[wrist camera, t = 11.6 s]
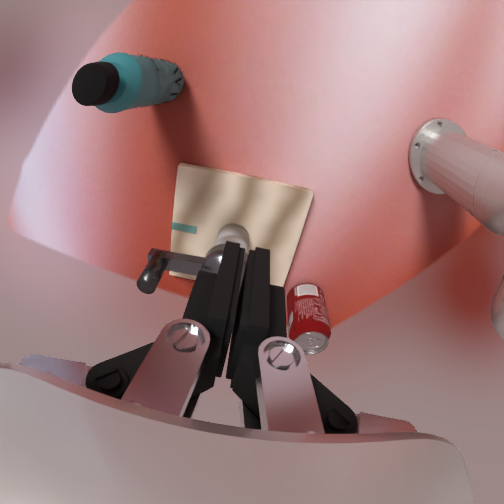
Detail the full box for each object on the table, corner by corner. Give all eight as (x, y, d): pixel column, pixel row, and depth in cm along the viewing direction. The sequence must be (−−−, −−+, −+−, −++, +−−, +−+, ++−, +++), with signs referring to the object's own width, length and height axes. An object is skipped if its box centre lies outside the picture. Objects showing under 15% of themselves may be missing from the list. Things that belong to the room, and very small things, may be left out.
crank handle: (254, 248, 38) (251, 283, 31) (247, 286, 41) (243, 323, 35) (153, 231, 37) (132, 262, 31) (154, 269, 41) (136, 303, 34)
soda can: (292, 277, 51) (296, 327, 41) (328, 284, 51) (339, 332, 41) (282, 305, 54) (284, 354, 44) (315, 310, 55) (323, 359, 45)
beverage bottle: (177, 109, 37) (105, 132, 20) (138, 94, 35) (51, 110, 18) (196, 69, 33) (134, 57, 16) (156, 55, 32) (73, 42, 15)
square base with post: (312, 189, 42) (321, 213, 35) (279, 291, 53) (280, 325, 45) (181, 162, 41) (161, 180, 34) (171, 269, 51) (157, 300, 44)
